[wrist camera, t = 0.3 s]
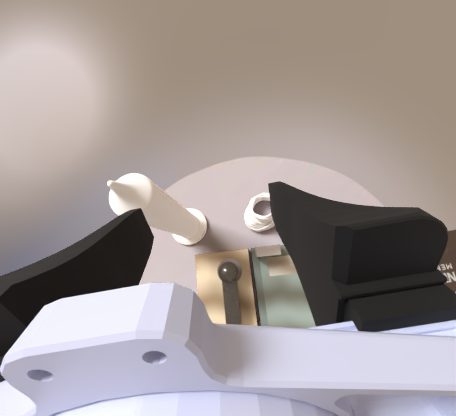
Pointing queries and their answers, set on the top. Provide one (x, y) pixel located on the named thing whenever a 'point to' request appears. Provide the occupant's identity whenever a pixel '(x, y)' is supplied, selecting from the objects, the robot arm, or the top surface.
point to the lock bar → (230, 292)
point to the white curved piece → (256, 220)
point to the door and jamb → (265, 286)
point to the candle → (157, 208)
